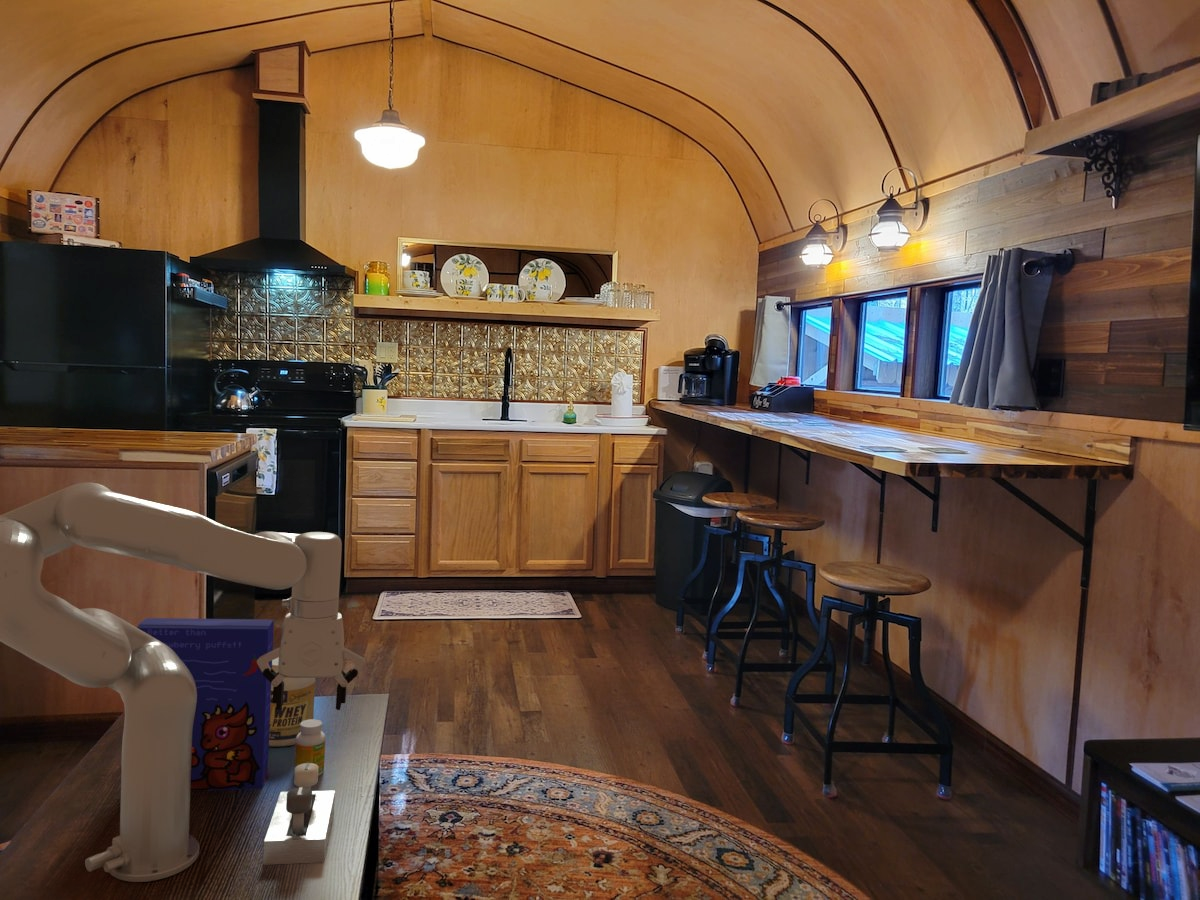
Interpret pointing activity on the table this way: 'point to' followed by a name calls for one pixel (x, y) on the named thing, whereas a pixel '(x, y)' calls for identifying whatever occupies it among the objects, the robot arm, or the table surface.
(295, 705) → the supplement tub
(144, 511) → the robot arm
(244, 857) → the table surface
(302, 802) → the charcoal knob
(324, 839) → the mount
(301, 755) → the supplement bottle
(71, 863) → the table surface
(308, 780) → the cream knob
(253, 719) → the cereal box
